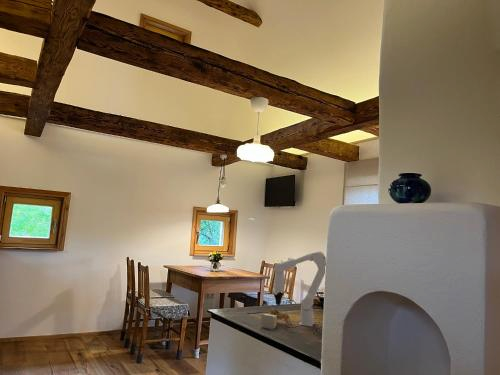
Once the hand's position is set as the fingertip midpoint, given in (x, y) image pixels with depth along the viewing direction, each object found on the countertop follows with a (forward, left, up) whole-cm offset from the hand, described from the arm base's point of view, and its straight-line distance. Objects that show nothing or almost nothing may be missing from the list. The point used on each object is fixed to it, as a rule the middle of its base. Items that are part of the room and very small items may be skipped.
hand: (278, 304), depth 232 cm
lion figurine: (+9, +4, -10) cm, 14 cm away
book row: (+17, 0, -9) cm, 19 cm away
